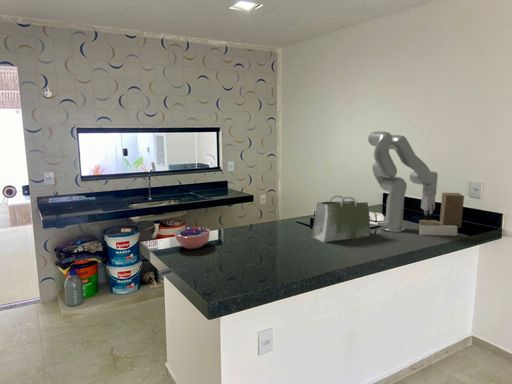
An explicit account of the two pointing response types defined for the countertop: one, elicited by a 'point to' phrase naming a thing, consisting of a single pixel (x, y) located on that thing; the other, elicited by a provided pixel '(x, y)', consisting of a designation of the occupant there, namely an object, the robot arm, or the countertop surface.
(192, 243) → the cell model
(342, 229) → the grocery bag
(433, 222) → the oak block
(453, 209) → the wooden block
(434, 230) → the cream board
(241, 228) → the countertop surface
